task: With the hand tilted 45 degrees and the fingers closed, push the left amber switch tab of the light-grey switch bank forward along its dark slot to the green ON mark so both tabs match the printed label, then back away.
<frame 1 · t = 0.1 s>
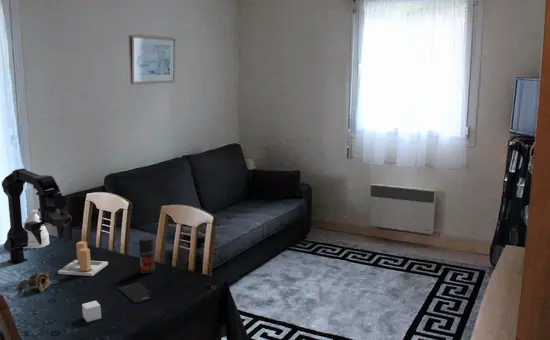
hand: (50, 241, 231), 15 cm above the table, fingers open, 9 cm apart
cell phone: (137, 294, 213), on the table
right tab: (84, 259, 233), point 6 cm above the table, slide at 6.0 cm
brown ringed piece: (35, 289, 219), on the table
switch bank: (83, 268, 239), on the table
honey pot: (35, 245, 272), on the table
left tab: (82, 252, 242), point 6 cm above the table, slide at 0.0 cm
white cube: (92, 318, 193), on the table
deodorant: (147, 271, 235), on the table
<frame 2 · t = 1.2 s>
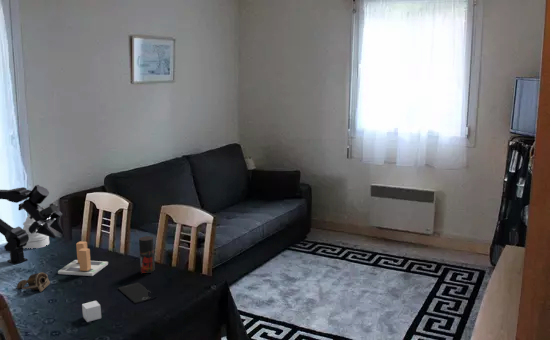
hand: (59, 235, 243), 13 cm above the table, fingers open, 6 cm apart
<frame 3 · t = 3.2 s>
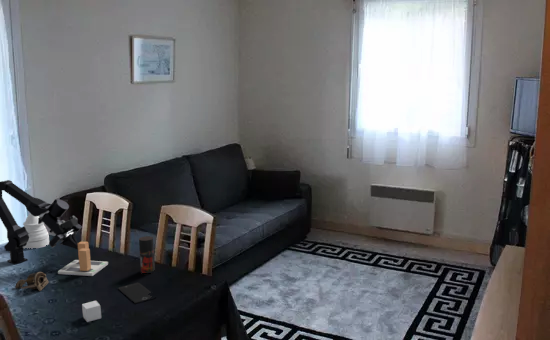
hand: (79, 248, 242), 8 cm above the table, fingers closed, pressing on left tab
left tab: (83, 252, 242), point 6 cm above the table, slide at 0.7 cm, touching gripper
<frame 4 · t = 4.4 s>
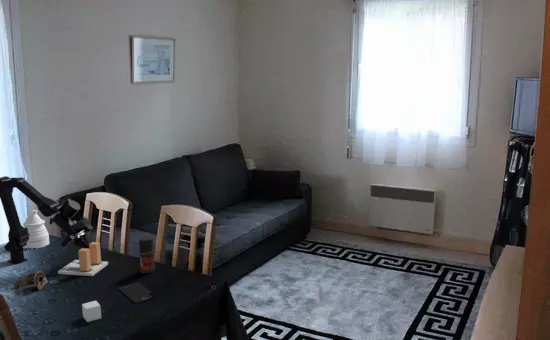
hand: (90, 249, 241), 8 cm above the table, fingers closed
left tab: (95, 252, 241), point 6 cm above the table, slide at 6.2 cm
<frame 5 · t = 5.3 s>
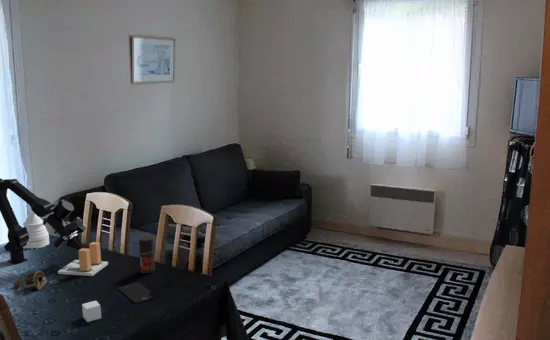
hand: (83, 250, 242), 7 cm above the table, fingers closed
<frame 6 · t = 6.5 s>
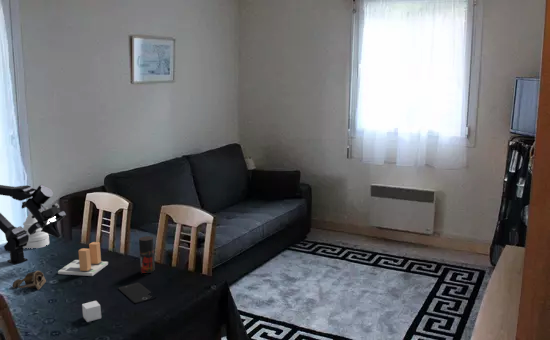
hand: (59, 237, 241), 13 cm above the table, fingers closed
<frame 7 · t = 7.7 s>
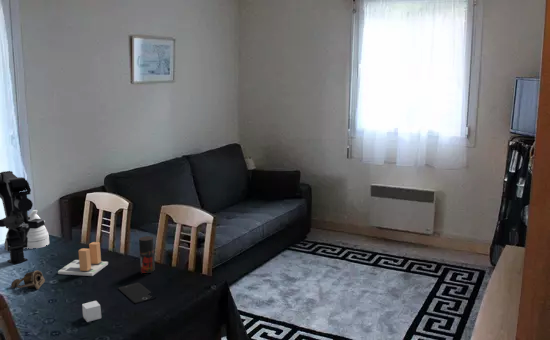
hand: (23, 241, 236), 13 cm above the table, fingers closed
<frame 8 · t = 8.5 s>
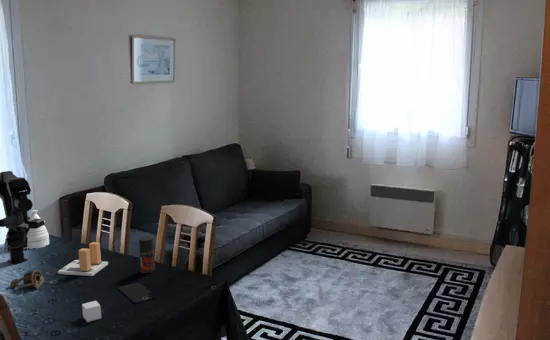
hand: (23, 241, 236), 13 cm above the table, fingers closed
at the end: left tab slide at 6.2 cm; right tab slide at 6.0 cm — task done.
